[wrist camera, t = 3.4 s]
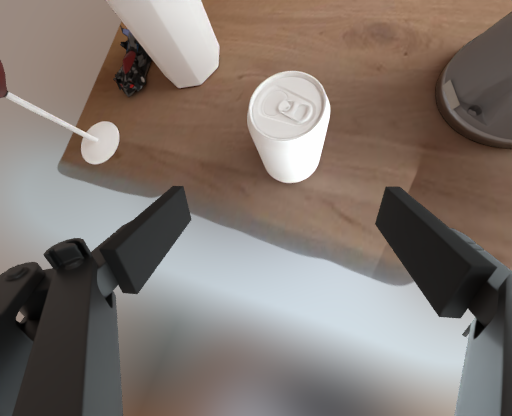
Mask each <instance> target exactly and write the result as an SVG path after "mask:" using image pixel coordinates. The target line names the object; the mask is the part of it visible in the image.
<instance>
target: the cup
mask: <svg viewBox="0 0 512 416" xmlns="http://www.w3.org/2000/svg"><path fill="white" fill-rule="evenodd" d="M106 2H107V3H108V4H109V5H110V7H111V8H112V9H113V11H114V12H115V13H116V14H117V16H118V17H119V18H120V19H121V21H122V22H123V23H124V25H125V26H126V27H127V28H128V30H129V31H130V32H131V33H132V35H133V36H134V37H135V38H136V40H137V41H138V42H139V43H140V45H141V46H142V47H143V49H144V50H145V51H146V52H147V54H148V55H149V56H150V57H151V59H152V60H153V61H154V62H155V64H156V65H157V66H158V67H159V69H160V70H161V71H162V73H163V74H164V75H165V76H166V77H167V78H168V79H169V80H170V81H171V82H172V83H173V84H175V85H176V86H177V87H178V88H184V87H190V86H197V85H201V84H202V83H203V82H204V81H205V80H206V79H207V78H208V77H209V76H210V75H211V74H212V73H213V72H214V71H215V70H216V69H217V68H218V65H219V44H218V42H217V39H216V37H215V34H214V32H213V29H212V27H211V24H210V22H209V19H208V17H207V14H206V12H205V9H204V7H203V4H202V2H201V0H106Z"/></svg>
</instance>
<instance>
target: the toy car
mask: <svg viewBox="0 0 512 416" xmlns="http://www.w3.org/2000/svg"><path fill="white" fill-rule="evenodd" d="M120 26H121V25H120ZM121 30H122V33H123V34H124V35H126V36H127V37H128V38H129V39H128V40H127V41H126V42H121V44H120V45H121V46H122V47H124V48H125V49H126V55H125V57H124V59H123V65H122V67H121V69H120V70H119V71H118V72H119V73H118V72H117V74H115V77H116V78H114V81H116V83H117V84H118V87H119V90H121V89H123V92H124V93H125V94H126V95H127V96H128V97H130V96H131V95H132V94H133V93H134V91H136V90H138V91H139V90H140V89H141V88H142V86H143V85H145V84H146V79H145V77H146V74H147V71H148V68H149V65H150V63H151V57H150V56H149V55H148V54H147V52H146V51H145V50H144V49H143V47H142V46H141V45H140V43H139V42H138V41H137V40H136V38H135V37H134V36H133V35H132V33H131V32H130V31H129V30H127V29H123V28H122V27H121Z"/></svg>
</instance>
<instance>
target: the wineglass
mask: <svg viewBox="0 0 512 416" xmlns="http://www.w3.org/2000/svg"><path fill="white" fill-rule="evenodd" d="M2 97H5V98H7V99H9V100H11V101H13V102H15V103H17V104H19V105H21V106H23V107H25V108H27V109H29V110H31V111H33V112H35V113H37V114H39V115H41V116H43V117H45V118H47V119H49V120H51V121H53V122H55V123H57V124H59V125H61V126H63V127H65V128H67V129H69V130H71V131H73V132H75V133H77V134H79V135H81V136H83V140H82V143H81V153H82V156H83V158H84V159H85V161H87V162H88V163H90V164H100V163H103V162H105V161H107V160H108V159H109V158H110V157H111V156H112V155H113V154H114V153H115V151H116V149H117V147H118V144H119V135H120V134H119V131H118V128H117V127H116V126H115V125H114V124H113V123H111V122H106V121H103V122H99V123H97V124H95V125H93V126H92V127H91V128H90V129H89V130H88V131H87V132H84V131H82V130H80V129H78V128H76V127H74V126H73V125H71V124H69V123H67V122H65V121H63V120H61V119H59V118H57V117H55V116H54V115H52V114H50V113H48V112H46V111H44V110H42V109H40V108H38V107H36V106H35V105H33V104H31V103H29V102H27V101H25V100H23V99H21V98H19V97H17V96H15V95H14V94H11V93H10V92H8V91H7V88H6V79H5V72H4V69H3V65H2V63H1V61H0V98H2Z"/></svg>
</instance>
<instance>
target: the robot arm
mask: <svg viewBox="0 0 512 416" xmlns="http://www.w3.org/2000/svg"><path fill="white" fill-rule="evenodd" d="M436 102H437V106H438V108H439V111H440V113H441V115H442V116H443V118H444V119H445V120H446V122H447V123H448V124H449V125H450V126H451V127H452V128H453V129H455V130H456V131H457V132H458V133H460V134H461V135H463V136H465V137H467V138H469V139H471V140H473V141H475V142H478V143H481V144H484V145H488V146H493V147H500V148H512V12H510V13H509V14H508V15H506V16H505V17H504V18H502V19H501V20H500V21H498V22H497V23H496V24H494V25H493V26H492V27H490V28H489V29H488V30H486V31H485V32H484V33H482V34H480V35H479V36H477V37H476V38H474V39H473V40H472V41H470V42H469V43H467V44H466V45H465V46H463V47H462V48H461V49H460V50H459V51H458V52H457V53H456V54H455V55H454V57H453V58H452V59H451V60H450V62H449V63H448V64H447V65H446V66H445V68H444V69H443V71H442V72H441V74H440V76H439V78H438V81H437V85H436ZM190 221H191V216H190V212H189V208H188V204H187V199H186V195H185V191H184V187H183V186H172V187H171V188H170V189H169V190H168V191H167V192H165V193H164V194H163V195H162V196H161V197H160V198H158V199H157V200H156V201H155V202H154V203H152V204H151V205H150V206H149V207H148V208H147V209H145V210H144V211H143V212H142V213H141V214H140V215H138V216H137V217H136V218H135V219H134V220H132V221H131V222H129V223H127V224H125V225H123V226H122V227H121V228H119V229H118V230H117V231H116V233H113V234H112V235H111V236H110V237H109V238H107V239H106V240H105V241H104V242H103V243H101V244H100V245H99V246H98V247H97V248H95V249H94V250H93V251H92V252H90V250H89V249H88V247H87V245H86V243H85V242H84V240H83V239H80V238H74V239H69V240H66V241H63V242H60V243H58V244H56V245H54V246H52V247H51V248H49V249H48V250H47V251H46V252H45V253H44V256H45V258H46V259H47V260H48V262H49V263H50V264H51V266H52V267H53V268H52V269H47V270H42V269H41V267H40V266H39V265H38V263H36V262H29V263H24V264H21V265H17V266H15V267H12V268H10V269H8V270H7V271H6V272H4V273H2V274H1V275H0V416H123V408H122V391H121V375H120V359H119V343H118V327H117V310H116V296H115V294H114V292H113V290H114V289H115V288H116V287H117V285H119V287H120V289H121V290H122V292H123V293H130V294H138V293H139V291H140V290H141V288H142V287H143V286H144V284H145V283H146V281H147V280H148V278H149V277H150V276H151V275H152V273H153V272H154V271H155V269H156V267H157V266H158V265H159V264H160V262H161V261H162V259H163V258H164V257H165V255H166V254H167V253H168V251H169V250H170V248H171V247H172V246H173V244H174V243H175V241H176V240H177V239H178V237H179V236H180V234H181V233H182V231H183V230H184V229H185V228H186V226H187V225H188V224H189V222H190ZM375 224H376V226H377V227H378V229H379V230H380V232H381V233H382V235H383V236H384V238H385V239H386V240H387V242H388V243H389V245H390V246H391V248H392V249H393V251H394V252H395V253H396V255H397V256H398V258H399V259H400V261H401V262H402V264H403V265H404V267H405V268H406V269H407V271H408V272H409V274H410V275H411V277H412V278H413V280H414V281H415V283H416V284H417V285H418V287H419V288H420V290H421V291H422V293H423V294H424V296H425V297H426V298H427V300H428V301H429V303H430V304H431V306H432V307H433V309H434V310H435V311H436V313H437V314H438V316H439V317H449V318H461V317H462V316H463V314H464V313H465V311H466V310H467V309H469V310H470V311H471V312H472V314H473V315H474V316H475V317H476V318H475V319H474V320H473V321H472V323H471V324H470V325H469V327H468V328H467V329H466V330H465V332H464V333H463V334H462V335H463V336H465V337H466V336H467V335H468V334H469V338H468V344H467V349H466V355H465V360H464V366H463V371H462V377H461V382H460V388H459V393H458V399H457V405H456V410H455V416H512V271H511V270H510V269H509V268H507V267H506V266H505V265H503V264H502V263H501V262H500V261H498V260H497V259H496V258H495V257H493V256H492V255H491V254H490V253H488V252H487V251H484V249H483V248H482V247H481V246H479V245H478V244H476V242H474V241H473V240H472V239H470V238H469V237H468V236H467V235H465V234H463V233H461V232H459V231H457V230H455V229H453V228H449V227H448V226H446V225H445V224H444V223H443V222H442V221H440V220H439V219H438V218H437V217H435V216H434V215H433V214H432V213H431V212H429V211H428V210H427V209H426V208H425V207H423V206H422V205H421V204H420V203H419V202H417V201H416V200H415V199H414V198H412V197H411V196H410V195H409V194H408V193H406V192H405V191H404V190H403V189H402V188H400V187H386V188H385V191H384V195H383V198H382V202H381V205H380V209H379V212H378V216H377V219H376V223H375ZM19 311H20V312H21V313H22V314H23V315H24V316H25V317H24V318H23V320H22V321H21V322H20V323H19V322H18V321H16V316H17V314H18V312H19Z"/></svg>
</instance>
